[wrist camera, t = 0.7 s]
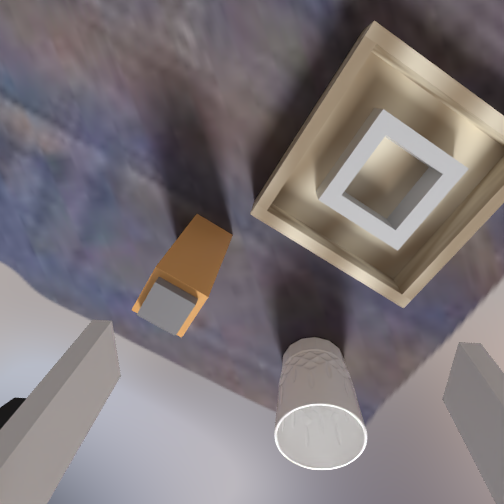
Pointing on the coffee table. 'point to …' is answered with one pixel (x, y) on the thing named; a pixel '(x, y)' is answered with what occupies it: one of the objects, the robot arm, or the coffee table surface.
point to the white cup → (318, 407)
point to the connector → (184, 277)
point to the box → (388, 167)
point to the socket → (417, 199)
